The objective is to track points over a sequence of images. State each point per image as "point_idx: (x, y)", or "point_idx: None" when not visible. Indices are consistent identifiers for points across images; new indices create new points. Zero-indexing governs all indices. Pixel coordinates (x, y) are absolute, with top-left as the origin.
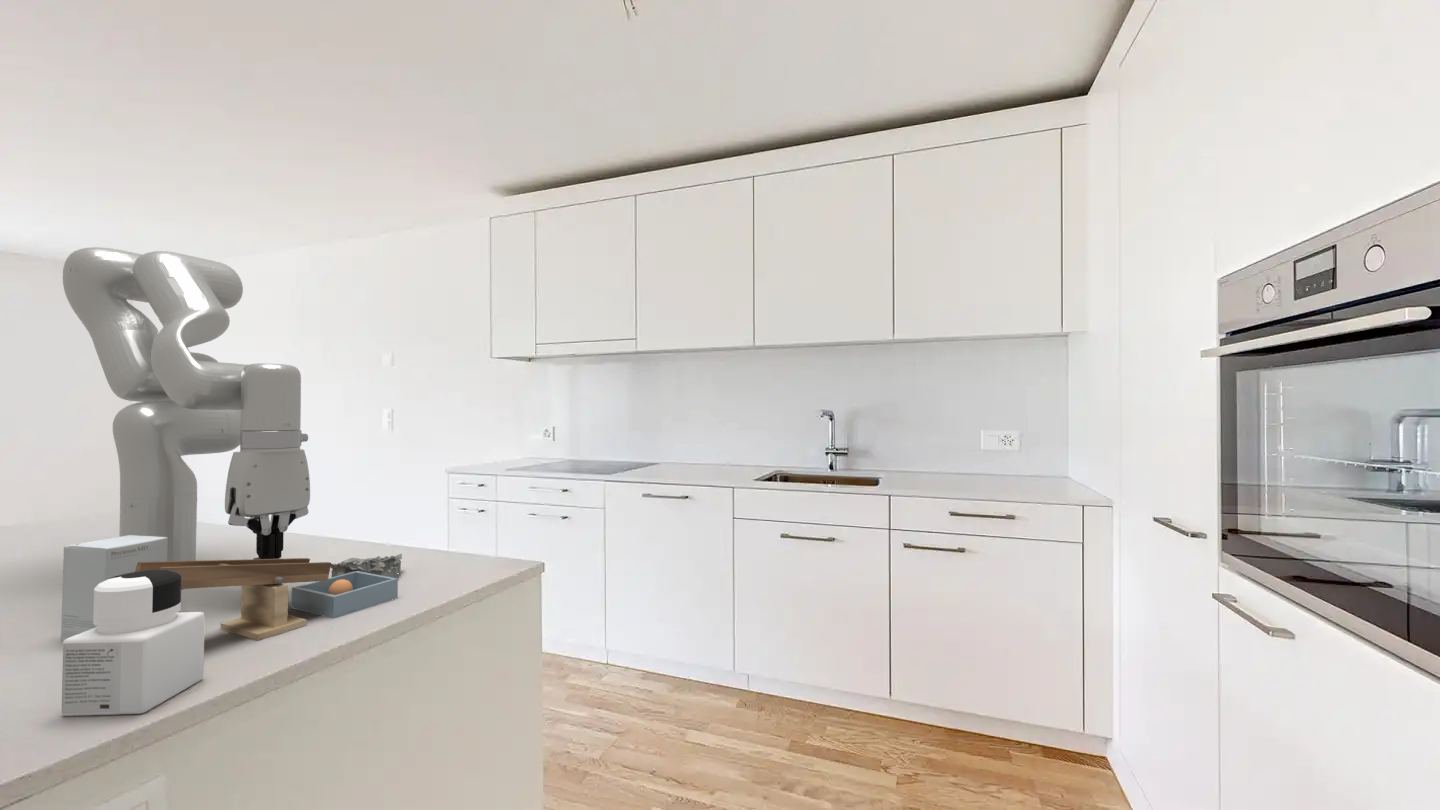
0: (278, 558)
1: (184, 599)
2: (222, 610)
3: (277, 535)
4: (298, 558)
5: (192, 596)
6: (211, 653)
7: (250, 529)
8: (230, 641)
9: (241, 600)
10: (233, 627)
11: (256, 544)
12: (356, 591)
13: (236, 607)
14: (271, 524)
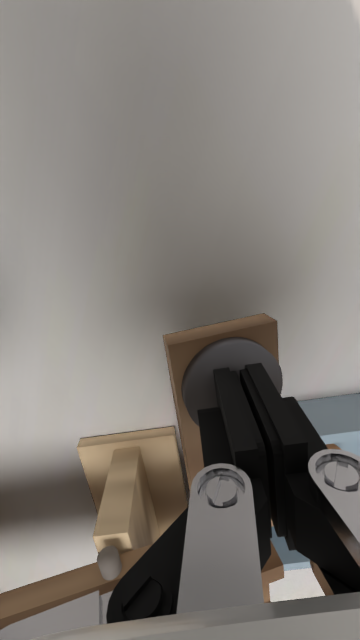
0: (278, 376)
1: (65, 45)
2: (117, 300)
3: (284, 532)
4: None
5: (92, 20)
6: (45, 538)
7: (167, 531)
8: (78, 511)
9: (105, 485)
10: (89, 486)
11: (200, 435)
12: (301, 566)
13: (148, 301)
14: (326, 517)
